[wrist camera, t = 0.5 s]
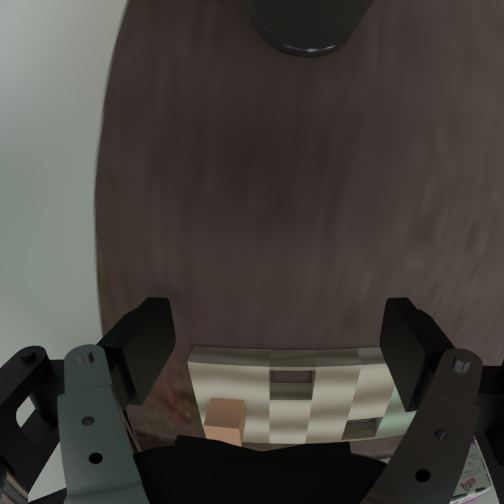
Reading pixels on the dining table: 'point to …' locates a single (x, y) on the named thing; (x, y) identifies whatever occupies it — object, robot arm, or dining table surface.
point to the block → (225, 420)
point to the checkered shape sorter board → (302, 393)
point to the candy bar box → (471, 478)
